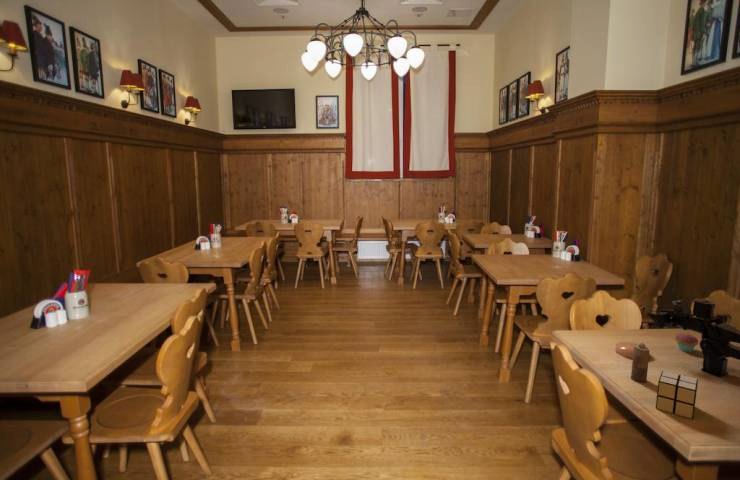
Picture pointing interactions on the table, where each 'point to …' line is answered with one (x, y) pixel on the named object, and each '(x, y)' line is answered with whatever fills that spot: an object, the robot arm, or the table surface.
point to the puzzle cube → (676, 394)
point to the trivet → (625, 349)
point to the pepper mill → (640, 363)
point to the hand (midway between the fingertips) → (654, 312)
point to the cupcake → (686, 341)
